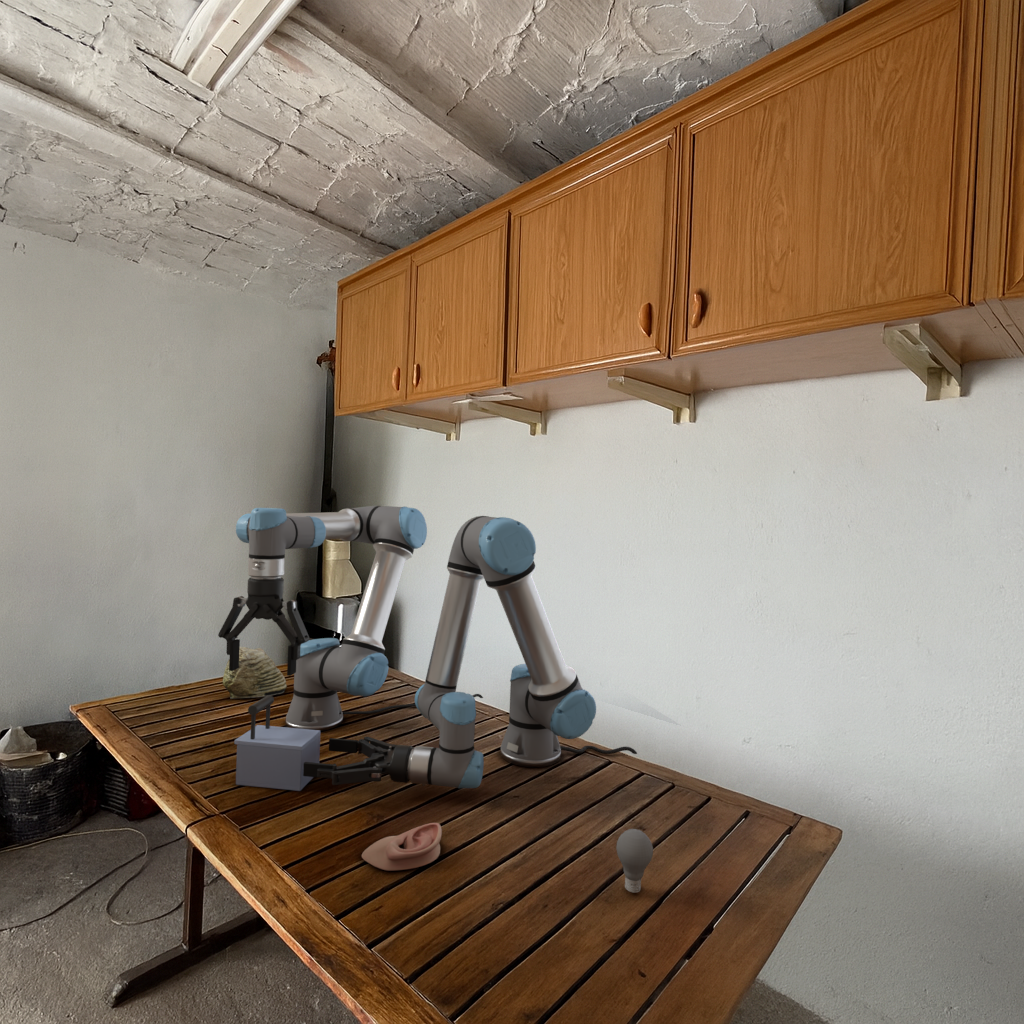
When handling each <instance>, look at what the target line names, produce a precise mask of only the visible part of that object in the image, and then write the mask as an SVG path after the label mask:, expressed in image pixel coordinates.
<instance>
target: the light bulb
mask: <svg viewBox="0 0 1024 1024" xmlns="http://www.w3.org/2000/svg"><path fill="white" fill-rule="evenodd" d="M615 849H616V854H617V857H618V859H619V861H620V863H621V865H622V867H623V873H624V874H623V875H624V876H625V878H624V888H625V890H627V891H628V892H630V893H634V894H635V893H639V892H640V891H641V889H642V887H641V886H642V879H643V877H644V875H645V871H646V868H647V867H648V866H649V864H650V863H651V861H652V859H653V855H654V847H653V843H652V841H651V838H649V836H648V835H647V834H646V833H645V832H643V831H642V830H641V829H636V828H629V829H627V830H625V831H623V832H622V833H621V834H620V835H619V837H618V839H617V841H616V847H615Z"/></svg>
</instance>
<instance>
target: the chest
mask: <svg viewBox="0 0 1024 1024" xmlns="http://www.w3.org/2000/svg"><path fill="white" fill-rule="evenodd" d="M320 753H321V734H320V735H319V736H318V737H316V738H315V739H314V740H313V741H312V742H311V743H309V744H308V745H307V746H306V747H305V748H304V749H303V750H292V749H282V748H271V747H260V746H249V745H238V744H236V763H235V764H236V765H235V767H236V768H235V785H237V786H245V787H246V786H247V787H257V788H266V789H267V788H268V789H276V790H285V791H296V792H301V791H302V790H303V789H304V788H305V787H306V786H307V785H308V784H309V783H310V782H311V781H312V780H313V779H314V777H307V776H303V769H304V763H305V762H313V763H320V755H321V754H320Z"/></svg>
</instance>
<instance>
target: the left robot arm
mask: <svg viewBox="0 0 1024 1024" xmlns="http://www.w3.org/2000/svg"><path fill="white" fill-rule="evenodd" d="M235 533H236V537H237V538H238V539H239V540H240V541H241V542H242V543H245V544H248V568H247V575H248V576H249V578H248V579H247V588H246V589H247V598H246V597H244V596H242V595H240V596H236V597H234V598H233V601H232V607H231V609H230V611H229V613H228V615H227V616H226V618H225V621H224V622H223V624H222V626H221V628H220V630H219V632H218V634H217V635H218V638H220V639H221V638H222V639H224V640H225V642H226V650H225V651H226V655H227V656H229V658H228V660H229V671H233V670H236V669H238V668H239V650H240V647H241V645H240V644H241V643H240V642H241V638H240V639H239V637H238V636H239V635H241V633H242V632H243V631H244V630H245V629H246V628H247V627H248V625H250V623H251V622H252V621H253V620H254V619H256V620H261V619H263V620H265V621H267V620H268V621H269V620H272V621H273V622H274V623H276V625H277V626H278V628H279V629H280V630H281V632H282V633H283V634H284V636H285V637H286V638H287V640H288V641H289V643H290V644H289V645H287V667H286V668H287V669H286V670H287V671H286V673H287V674H286V676H289V677H290V676H293V695H292V696H293V697H292V699H291V702H290V704H289V708H288V711H287V713H286V715H285V727H287V728H298V729H309V730H320V732H325V731H329V730H332V729H335V728H337V727H339V726H340V725H342V723H343V722H344V716H347V715H372V714H376V713H381V712H384V711H388V710H393V709H401V708H416V705H415V703H406V704H396V705H389V706H385V707H381V708H378V709H374V710H353V711H352V710H351V711H343V709H342V706H341V702H340V699H339V695H338V692H340V693H344V694H348V695H351V696H353V697H354V696H355V697H358V696H359V697H370V696H372V695H374V694H376V692H378V691H379V690H380V689H381V687H382V686H383V685H384V683H385V681H386V679H387V677H388V673H389V668H390V667H389V660H388V658H387V656H385V652H386V648H385V646H384V644H383V638H384V635H385V631H386V629H387V625H388V621H389V618H390V614H391V611H392V608H393V604H394V601H395V598H396V594H397V590H398V587H399V584H400V582H401V581H400V580H401V577H402V573H403V570H404V567H405V564H406V561H408V560H409V559H411V558H412V557H413V556H414V555H413V554H414V552H415V550H417V549H421V548H422V547H423V546H424V545H425V543H426V540H427V536H428V526H427V522H426V519H425V516H424V514H423V513H422V512H421V511H420V510H419V509H418V508H415V507H409V506H389V505H367V506H360V507H351V508H343V509H341V510H339V511H334V512H333V511H331V512H330V511H329V512H328V511H327V512H291V513H290V512H289V513H288V512H287V511H286V510H285V509H284V508H279V507H255V508H253V509H251V512H250V513H245V514H243V515H241V516H240V517H239V518H238V520H237V521H236V524H235ZM338 539H339V540H341V541H343V542H356V543H365V544H370V545H372V548H373V550H374V551H375V555H374V559H373V562H372V565H371V568H370V572H369V575H368V578H367V581H366V584H365V587H364V590H363V594H362V596H361V597H362V598H361V600H360V602H359V603H360V604H359V607H358V610H357V613H356V616H355V620H354V623H353V625H352V628H351V633H350V634H349V635H347V636H345V637H344V638H343V639H342V643H340V640H339V639H338V638H335V637H324V638H323V637H322V638H313V639H310V635H309V634H308V631H307V629H306V626H305V624H304V622H303V620H302V617H301V614H300V612H299V610H298V601H297V599H291V600H284V588H285V587H284V586H285V585H284V584H285V579H284V578H283V576H284V575H285V558H286V550H292V549H293V550H294V549H307V550H308V549H312V548H316V547H319V546H321V545H322V544H323V543H324V541H326V540H338ZM245 606H246V607H247V608H248V610H247V612H246V613H245V614H244V615H243V617H242V618H241V620H240V621H238V618H239V616H240V614H241V613H242V611H243V608H244V607H245ZM283 608H284V610H286V612H287V615H288V618H289V620H290V622H289V620H288V619H287V618H286V614H285V613H284V612H283ZM236 621H238V622H237V624H236ZM290 623H291V624H290ZM235 624H236V625H235ZM234 625H235V626H234ZM340 644H341V645H340ZM471 695H472V694H471ZM472 696H473V697H474V698H477V697H478V698H480V699H483V698H484V697H483V695H482V694H480V693H475V694H473V695H472Z"/></svg>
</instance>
